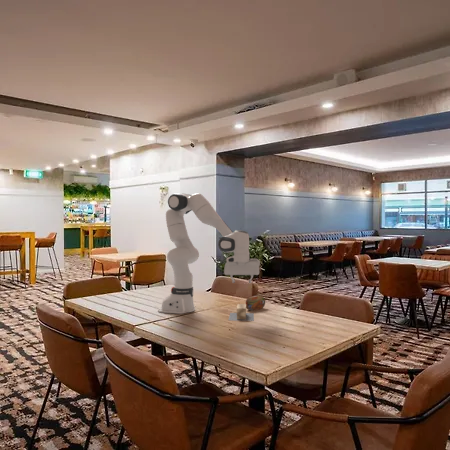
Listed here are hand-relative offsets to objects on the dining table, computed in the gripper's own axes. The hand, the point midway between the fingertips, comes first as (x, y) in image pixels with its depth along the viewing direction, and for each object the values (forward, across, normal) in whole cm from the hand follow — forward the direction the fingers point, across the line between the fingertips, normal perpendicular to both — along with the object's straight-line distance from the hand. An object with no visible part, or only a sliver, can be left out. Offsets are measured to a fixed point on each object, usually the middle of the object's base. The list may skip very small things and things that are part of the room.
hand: (241, 282), depth 231 cm
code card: (+20, 0, 0) cm, 20 cm away
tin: (+20, -8, -20) cm, 29 cm away
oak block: (+20, 0, 0) cm, 20 cm away
